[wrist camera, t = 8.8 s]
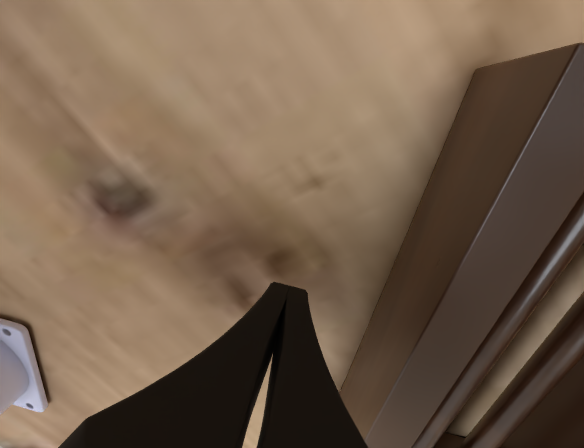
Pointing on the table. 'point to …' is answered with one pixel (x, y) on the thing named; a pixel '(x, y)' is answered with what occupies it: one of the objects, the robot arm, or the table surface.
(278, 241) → the table surface
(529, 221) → the rack
